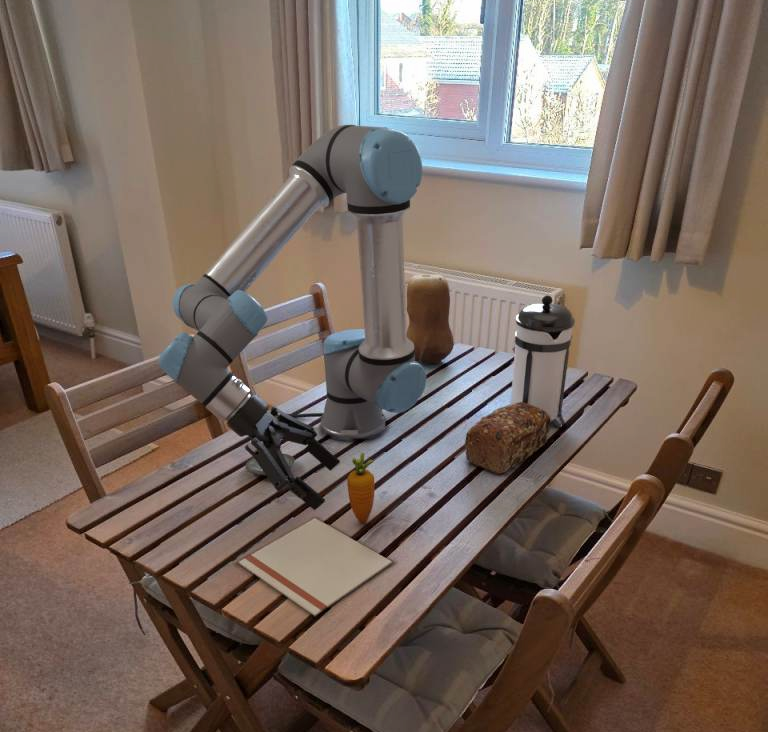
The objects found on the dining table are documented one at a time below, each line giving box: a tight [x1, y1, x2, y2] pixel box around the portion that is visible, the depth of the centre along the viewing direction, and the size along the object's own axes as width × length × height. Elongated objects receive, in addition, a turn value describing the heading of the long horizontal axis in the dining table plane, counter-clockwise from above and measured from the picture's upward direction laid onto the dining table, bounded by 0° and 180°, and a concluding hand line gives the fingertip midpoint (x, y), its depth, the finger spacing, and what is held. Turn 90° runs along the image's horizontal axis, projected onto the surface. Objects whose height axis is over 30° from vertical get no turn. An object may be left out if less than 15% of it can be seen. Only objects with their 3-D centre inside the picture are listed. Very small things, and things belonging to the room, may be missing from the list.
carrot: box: [346, 452, 375, 526], centre depth 127 cm, size 5×5×15 cm
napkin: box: [238, 517, 393, 617], centre depth 121 cm, size 20×18×1 cm
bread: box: [464, 402, 552, 474], centre depth 150 cm, size 19×11×10 cm, turn 137°
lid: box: [245, 453, 296, 476], centre depth 147 cm, size 11×10×5 cm
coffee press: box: [509, 295, 576, 428], centre depth 160 cm, size 17×16×30 cm
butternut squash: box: [406, 273, 454, 366], centre depth 191 cm, size 14×13×25 cm
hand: (328, 484), depth 127 cm, fingers open, 13 cm apart
